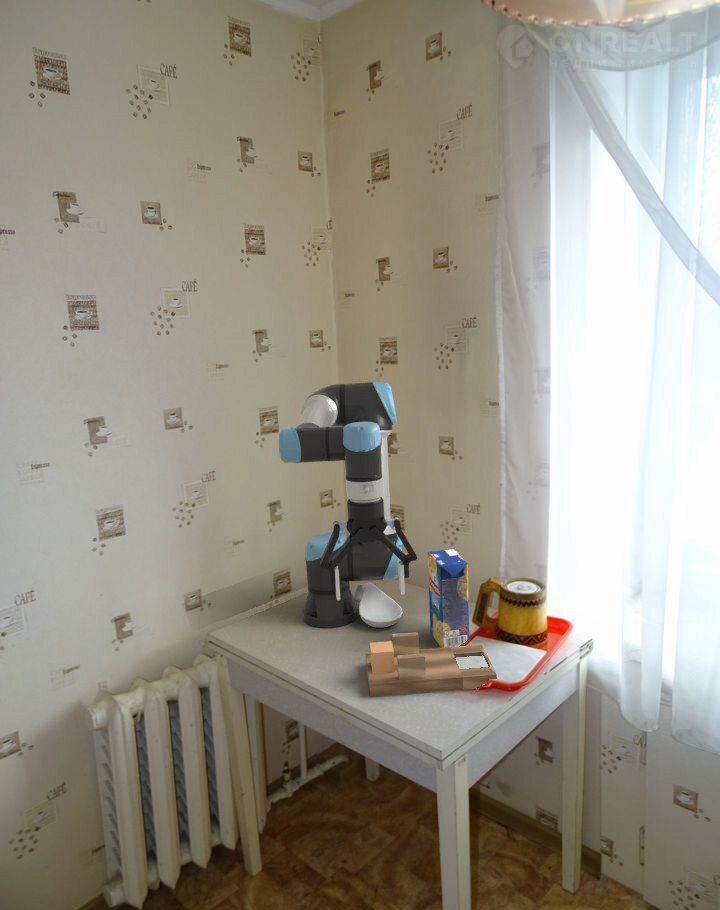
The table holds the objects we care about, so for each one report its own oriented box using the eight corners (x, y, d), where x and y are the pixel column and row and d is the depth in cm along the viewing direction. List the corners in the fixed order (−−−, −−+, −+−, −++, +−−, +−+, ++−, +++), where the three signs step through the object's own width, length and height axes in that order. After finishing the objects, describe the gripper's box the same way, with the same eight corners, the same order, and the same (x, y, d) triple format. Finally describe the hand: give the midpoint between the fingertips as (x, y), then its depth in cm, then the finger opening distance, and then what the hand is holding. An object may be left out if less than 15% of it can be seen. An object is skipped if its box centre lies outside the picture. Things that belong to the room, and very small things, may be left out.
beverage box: (455, 628, 178) (453, 548, 173) (469, 647, 167) (467, 563, 163) (430, 631, 176) (427, 551, 172) (443, 651, 166) (440, 566, 162)
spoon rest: (409, 628, 179) (408, 603, 178) (367, 637, 176) (366, 611, 175) (379, 596, 202) (378, 573, 200) (341, 603, 198) (340, 580, 197)
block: (371, 662, 156) (369, 642, 155) (392, 661, 156) (391, 641, 155) (372, 673, 151) (371, 653, 150) (394, 672, 151) (393, 651, 150)
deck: (366, 665, 161) (364, 634, 159) (481, 656, 162) (481, 625, 161) (370, 697, 147) (368, 663, 146) (496, 686, 148) (496, 653, 147)
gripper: (304, 507, 133) (311, 607, 138) (428, 498, 135) (431, 596, 140) (304, 497, 141) (311, 592, 145) (422, 488, 143) (425, 582, 147)
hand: (370, 594), depth 142 cm, fingers open, 13 cm apart
